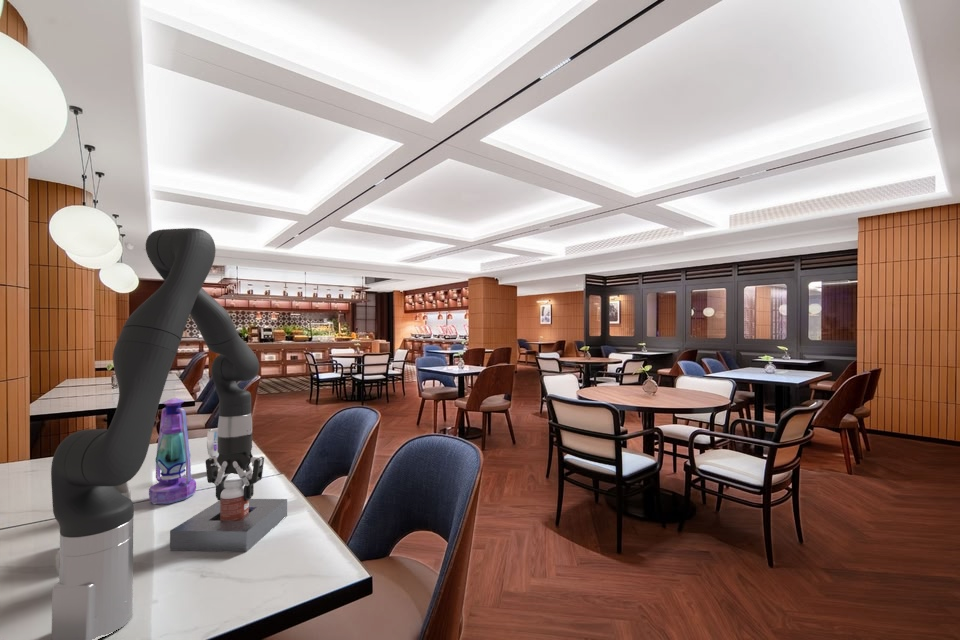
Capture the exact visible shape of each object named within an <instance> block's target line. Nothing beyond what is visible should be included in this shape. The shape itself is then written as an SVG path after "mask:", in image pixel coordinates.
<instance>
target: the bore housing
mask: <svg viewBox="0 0 960 640" xmlns="http://www.w3.org/2000/svg"><path fill="white" fill-rule="evenodd" d="M285 516H286V517H288V499H287V498H251V499H249V514H247V515H246V516H245V517H243V518H242V519H241V520H239V521H220V500H217V502H215V503H212V504H211V505H209V506H208V507H206V508H205V509H203V510H202V511H200V512H199V513H197V514H194V515H193V516H192V517H190V518H189V519H187V520H185V521H183V522H182V523H180V524H179V525H177V526H176V527H174V528H172V529H170V531H169V551H173V552H175V551H176V552H229V553H230V552H237V553H238V552H242V553H244V552H245V553H247V552H248V551H249V550H251V548H252V547H254V546H255V545H256V544H257V543H259V541H261V540H262V539H263V538H264V537H265V536H266V535H267V534H268V533H269V532H271V531H270V530H271V529H272V528H273V529H274V528H275V527H276V526H278V525H279V524H280V523H281V522H282V521H283V520H284V519H285V518H286V517H285ZM284 517H285V518H284ZM283 518H284V519H283ZM282 519H283V520H282ZM281 520H282V521H281ZM280 521H281V522H280ZM279 522H280V523H279ZM278 523H279V524H278ZM273 529H272V530H273Z"/></svg>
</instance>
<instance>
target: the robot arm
mask: <svg viewBox="0 0 960 640" xmlns="http://www.w3.org/2000/svg"><path fill="white" fill-rule="evenodd" d="M216 251H217V250H216V244H215V240H214V239H213V237H212V235H211V234H210V233H209V232H207V231H206V230H204V229H202V228H194V227H193V228H191V227H185V228H181V227H180V228H168V229H167V228H166V229H164V228H163V229H158V230H154V231H152V232H150V234H149V235H148V236H147V239H146V242H145V252H146V255H147V257H148V260H149V261H150V263H151V265H152V266H153V268H154V269H155V270H156V271H157V273H158V274H159V276H160V277H161V278H162V279H163V281H164V282H163V283H162V284H161V285H160V286H159V287H158V289H156V291H154V292H153V293H152V294H151V295H150V296H149V297H148V298H147V299H145V300H144V301H143V302H141V304H140V305H139V306H138V307H137V308H135V310H134V311H133V312H132V313H131V314H130V316H128V317H127V319H126V321H125V323H124V325H123V327H122V329H121V331H120V334H119V335H118V336H119V337H118V339H117V341H116V343H115V344H114V345H115V346H114V349H113V351H112V352H113V353H112V363H113V369H114V373H115V374H114V375H115V377H116V381H117V387H118V401H117V405H116V408H115V409H116V410H115V413H114V414H113V417H112V420H111V422H110V424H109V426H108V428H89V429H88V428H87V429H81V430H77V431H75V432H73V433H71V434H69V435H68V436H66V437H65V438H64V439H63V440H62V441H61V442H60V443H59V444H58V446H57V448H56V449H55V451H54V454H53V458H52V461H51V466H50V467H51V468H50V478H51V479H50V481H51V482H50V483H51V496H52V497H51V500H52V514H53V516H54V518H55V520H56V521H57V523H58V525H59V559H58V560H59V566H58V568H59V569H58V573H59V574H58V583H56V584H54V585H53V586H52V588H51V590H52V591H51V640H92V639H95V638H96V637H98V636H101V635H106V634H109V633H111V632H114V631H116V630H117V631H119V630H120V629H122V628H123V627H124V626H126V624H127V623H128V622H130V620H131V619H132V618H133V612H134V611H133V609H134V608H133V606H134V605H133V604H134V603H133V597H134V595H133V594H134V593H133V591H134V588H133V587H134V586H133V584H134V514H135V513H134V509H135V508H134V502H133V500H132V498H131V499H129V498H128V497H126V496H124V495H122V494H121V493H119V492H118V491H117V490H116V489H115V487H114V486H119V485H122V484H124V483H126V482H128V483H129V481H131V480H132V479H133V478H134V477H135V476H136V475H137V474H138V472H139V471H140V469H141V468H142V467H143V464H144V463H145V461H146V457H147V454H148V451H149V447H150V443H151V440H152V439H151V438H152V435H153V430H154V427H155V421H156V417H157V413H158V409H159V406H160V401H161V398H162V395H163V392H164V388H165V386H166V383H167V380H168V377H169V374H170V371H171V368H172V366H173V363H174V360H175V358H176V356H177V352H178V350H179V347H180V344H181V341H182V338H183V336H184V332H185V330H186V329H185V328H186V326H187V323H188V321H189V318H192V320H193V322H194V323H195V326H196V327H197V330H198V331H199V333H200V335H201V337H202V339H203V340H204V343H205V345H206V346H207V348H208V350H209V351H210V352H212V353H215V354H218V355H216V356H215V358H214V360H213V362H212V364H211V377H212V380H213V383H214V386H215V389H216V390H215V391H216V393H217V396H218V400H219V403H218V423H217V428H218V453H219V456H218V457H216V456H213V457H211V458H209V457H208V458H207V459H205V468H206V469H205V470H206V478H207V483H208V484H211V483H212V484H214V486H215V497H216V499H217V501H219V500H220V495H221V492H222V491H223V490H224V489H225V488H224V481H225V480H226V479H228V477H229V475H231V474H234V475H238V477H240V478H241V479H242V480H243V482H244V485H245V486H244V501H248V500H249V499H252V497H254V494H255V493H254V492H255V491H254V488H255V487H254V485H255V484H256V483H257V482H259V481H261V480H262V478H263V472H264V465H265V464H264V462H265V457H264V456H259V457H255V456H253V453H252V451H253V429H254V428H253V418H252V394H251V391H248V390H247V389H243V388H240V387H239V386H238V383H237V382H247V381H251V380H254V379H256V377H257V376H258V373H259V371H260V362H259V359H258V357H257V355H256V353H255V352H254V351H253V349H251V347H250V346H249V345H248V344H247V343H246V342H245V340H244V339H243V338H241V337H240V335H239V333H238V330H237V328H236V326H235V324H234V322H233V319H232V317H231V315H230V314H229V312H228V311H227V310H226V309H225V308H224V307H223V306H222V305H221V303H220V302H218V301H217V300H216V299H215V298H214V297H213V296H211V295H210V294H209V293H208V292H207V291H206V290H205V289H204V288H203V285H204V283H205V282H206V279H207V278H208V276H209V273H210V272H211V270H212V267H213V264H214V263H215V262H214V261H215V257H216ZM218 463H219V465H220V466H221V469H220V471H219V473H218V466H217V465H218ZM251 466H252V467H251ZM121 627H122V628H121ZM118 629H119V630H118ZM117 631H116V632H117ZM114 633H115V632H114Z"/></svg>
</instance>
